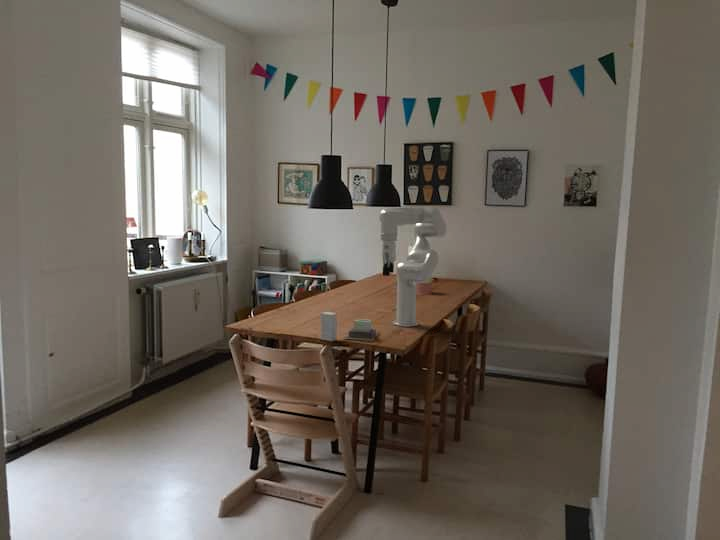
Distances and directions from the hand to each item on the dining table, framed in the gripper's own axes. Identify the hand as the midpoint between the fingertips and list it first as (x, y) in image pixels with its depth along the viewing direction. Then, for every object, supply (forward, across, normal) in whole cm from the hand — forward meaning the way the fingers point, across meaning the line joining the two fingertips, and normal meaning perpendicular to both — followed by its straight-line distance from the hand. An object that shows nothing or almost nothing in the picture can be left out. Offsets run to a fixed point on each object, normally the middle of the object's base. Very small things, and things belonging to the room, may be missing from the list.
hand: (388, 273), depth 267 cm
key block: (+27, -13, +9) cm, 31 cm away
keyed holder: (+28, -13, +9) cm, 32 cm away
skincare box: (+28, -23, +22) cm, 42 cm away
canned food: (+31, +116, -2) cm, 119 cm away
